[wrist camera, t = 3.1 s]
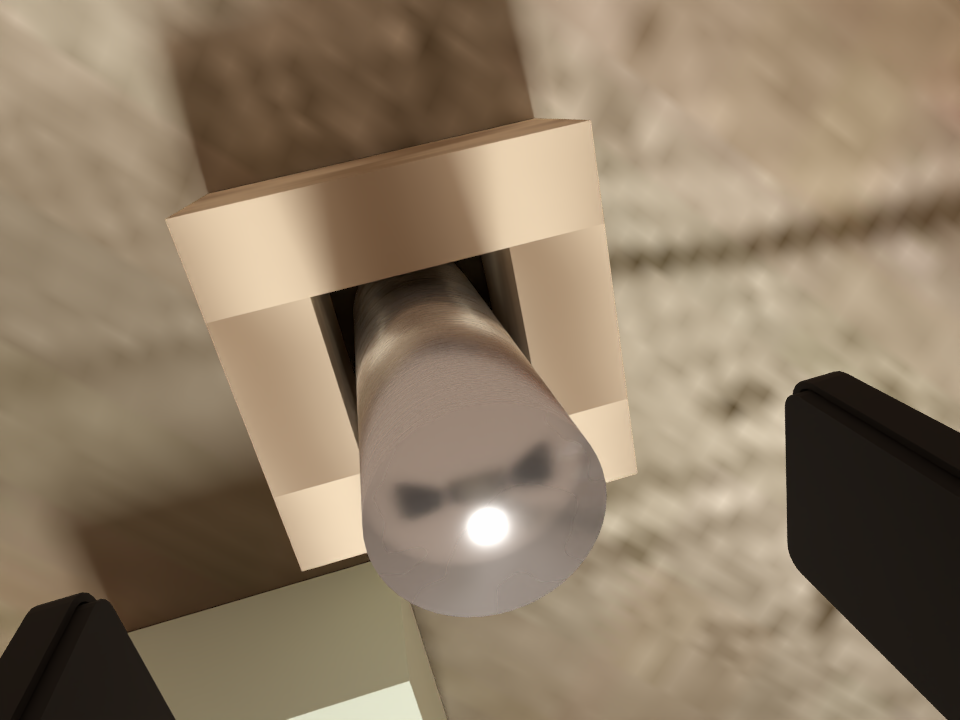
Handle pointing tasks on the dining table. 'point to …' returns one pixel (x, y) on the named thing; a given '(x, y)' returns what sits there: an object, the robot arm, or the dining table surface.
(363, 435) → the steel peg
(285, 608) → the block
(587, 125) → the socket block
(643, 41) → the dining table surface
